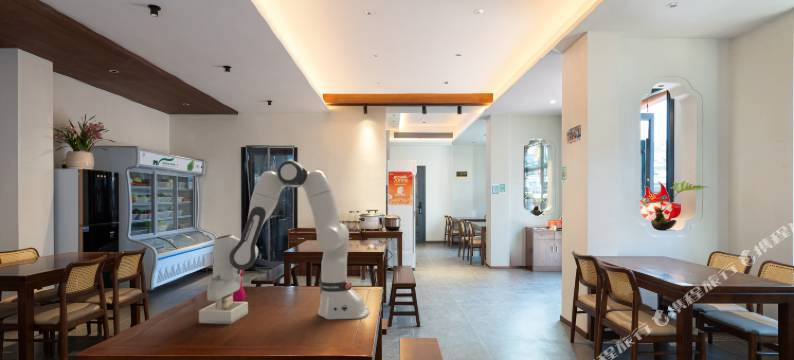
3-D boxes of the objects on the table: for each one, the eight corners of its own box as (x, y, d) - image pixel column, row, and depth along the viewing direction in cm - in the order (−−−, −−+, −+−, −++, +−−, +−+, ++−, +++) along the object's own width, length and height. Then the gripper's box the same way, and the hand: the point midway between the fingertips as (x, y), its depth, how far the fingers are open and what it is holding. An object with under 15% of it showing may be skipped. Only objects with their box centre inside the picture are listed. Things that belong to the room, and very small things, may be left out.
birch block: (232, 309, 175) (232, 295, 175) (226, 313, 170) (226, 299, 170) (222, 309, 175) (222, 295, 175) (215, 313, 170) (215, 298, 171)
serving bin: (247, 313, 179) (247, 302, 179) (231, 323, 165) (231, 311, 165) (218, 312, 180) (218, 301, 180) (198, 322, 166) (198, 310, 167)
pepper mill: (248, 303, 194) (248, 261, 195) (240, 308, 187) (240, 264, 187) (233, 303, 195) (233, 261, 195) (226, 307, 188) (225, 264, 188)
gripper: (217, 278, 162) (217, 313, 162) (243, 268, 183) (243, 299, 182) (202, 278, 163) (202, 313, 163) (230, 268, 183) (230, 299, 183)
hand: (224, 306), depth 173 cm, fingers closed on birch block, 5 cm apart
